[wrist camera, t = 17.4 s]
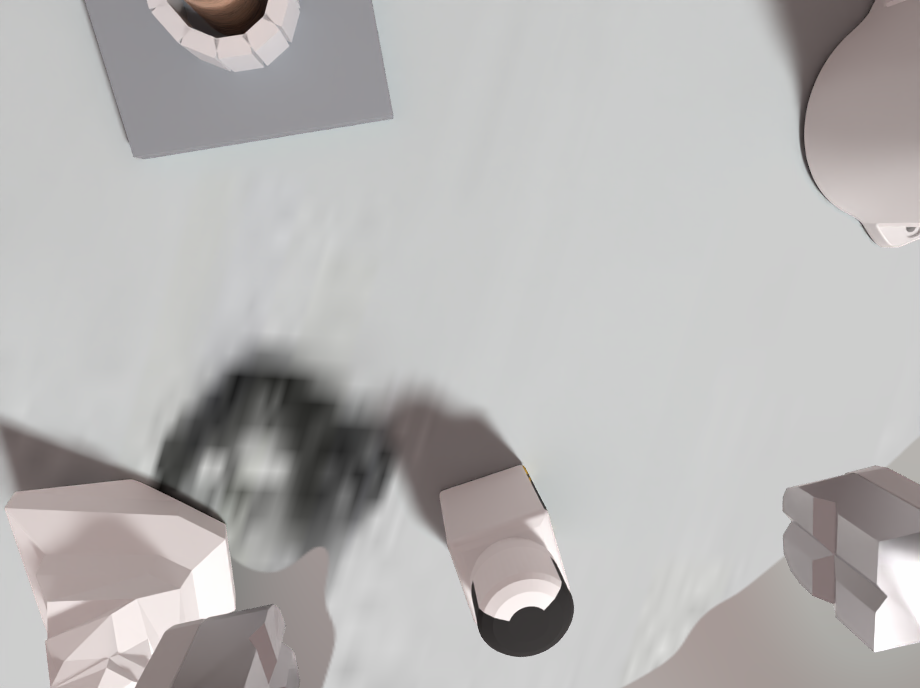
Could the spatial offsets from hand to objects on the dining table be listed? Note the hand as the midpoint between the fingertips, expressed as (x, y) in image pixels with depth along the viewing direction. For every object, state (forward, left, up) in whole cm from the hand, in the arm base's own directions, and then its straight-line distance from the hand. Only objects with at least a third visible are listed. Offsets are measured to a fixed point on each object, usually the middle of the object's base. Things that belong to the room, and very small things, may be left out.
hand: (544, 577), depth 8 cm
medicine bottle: (-2, +19, -31) cm, 37 cm away
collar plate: (+8, -19, -31) cm, 37 cm away
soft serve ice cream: (+24, +16, -31) cm, 43 cm away
